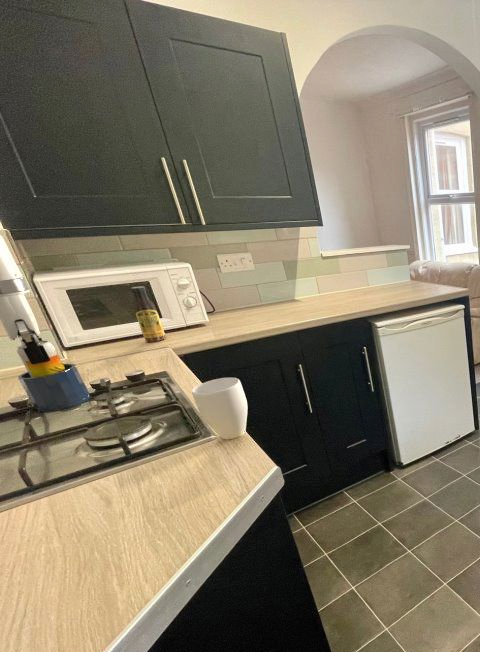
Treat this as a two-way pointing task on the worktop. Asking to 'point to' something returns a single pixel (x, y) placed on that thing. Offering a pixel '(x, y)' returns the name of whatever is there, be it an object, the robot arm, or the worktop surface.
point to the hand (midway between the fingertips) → (40, 358)
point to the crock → (56, 389)
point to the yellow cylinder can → (42, 368)
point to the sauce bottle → (147, 316)
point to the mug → (222, 406)
